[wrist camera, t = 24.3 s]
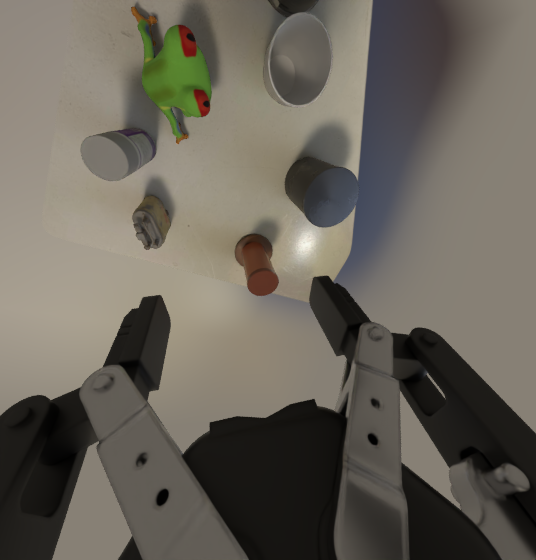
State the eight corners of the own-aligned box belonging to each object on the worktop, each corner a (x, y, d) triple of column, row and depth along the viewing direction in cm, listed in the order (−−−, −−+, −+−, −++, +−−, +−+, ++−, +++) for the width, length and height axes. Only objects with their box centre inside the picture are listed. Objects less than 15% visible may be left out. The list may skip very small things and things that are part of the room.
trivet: (250, 226, 48) (250, 228, 47) (279, 247, 52) (279, 248, 52) (227, 256, 51) (227, 257, 50) (256, 272, 55) (256, 274, 55)
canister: (251, 236, 48) (261, 265, 39) (271, 250, 51) (285, 279, 42) (235, 256, 50) (241, 288, 41) (255, 268, 54) (265, 300, 44)
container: (120, 151, 35) (75, 167, 23) (128, 121, 33) (82, 123, 21) (151, 167, 37) (124, 190, 26) (160, 140, 35) (134, 151, 24)
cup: (284, 121, 37) (304, 122, 29) (245, 84, 33) (255, 73, 26) (314, 69, 34) (345, 54, 26) (274, 21, 30) (297, -13, 22)
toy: (221, 136, 37) (224, 141, 29) (168, 145, 36) (157, 152, 28) (192, 4, 28) (185, -40, 20) (121, 12, 27) (85, -31, 19)
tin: (307, 143, 40) (336, 152, 31) (336, 178, 45) (369, 194, 36) (274, 186, 43) (291, 205, 34) (304, 214, 48) (327, 237, 39)
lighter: (139, 197, 40) (122, 216, 32) (160, 193, 40) (148, 211, 32) (156, 232, 44) (144, 256, 36) (175, 228, 44) (167, 252, 37)
